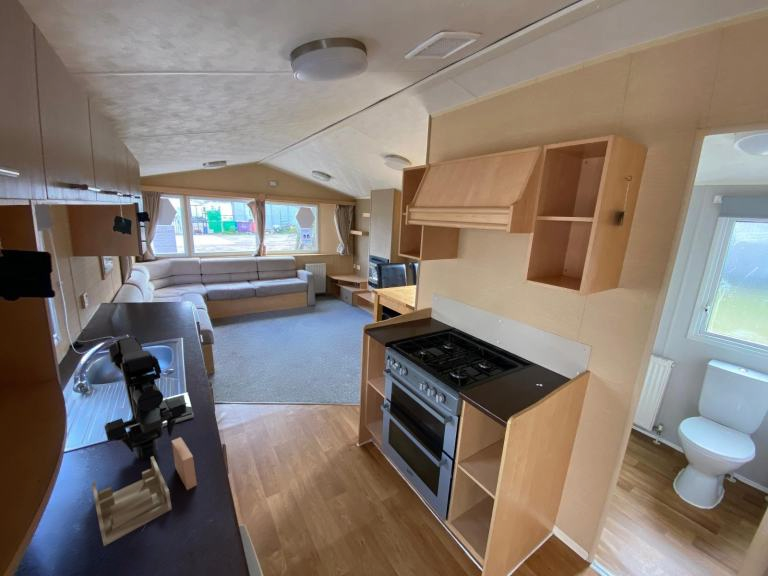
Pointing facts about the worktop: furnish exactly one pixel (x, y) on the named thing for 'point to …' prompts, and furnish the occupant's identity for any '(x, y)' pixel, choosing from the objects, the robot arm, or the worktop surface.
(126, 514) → the offcut upper
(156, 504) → the offcut lower
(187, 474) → the orange tan rectangular slab
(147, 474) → the rack
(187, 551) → the worktop surface
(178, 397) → the picture frame
